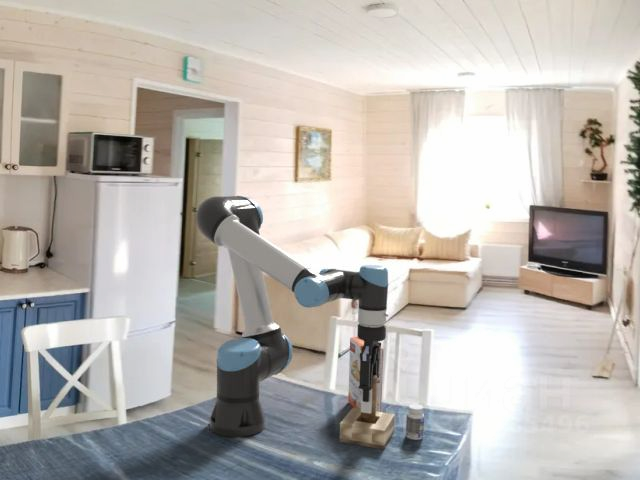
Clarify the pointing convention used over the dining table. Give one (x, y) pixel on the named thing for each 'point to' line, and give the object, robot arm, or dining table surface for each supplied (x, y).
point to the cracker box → (354, 375)
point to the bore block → (367, 429)
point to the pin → (372, 417)
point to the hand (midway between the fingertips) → (368, 409)
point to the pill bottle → (415, 422)
